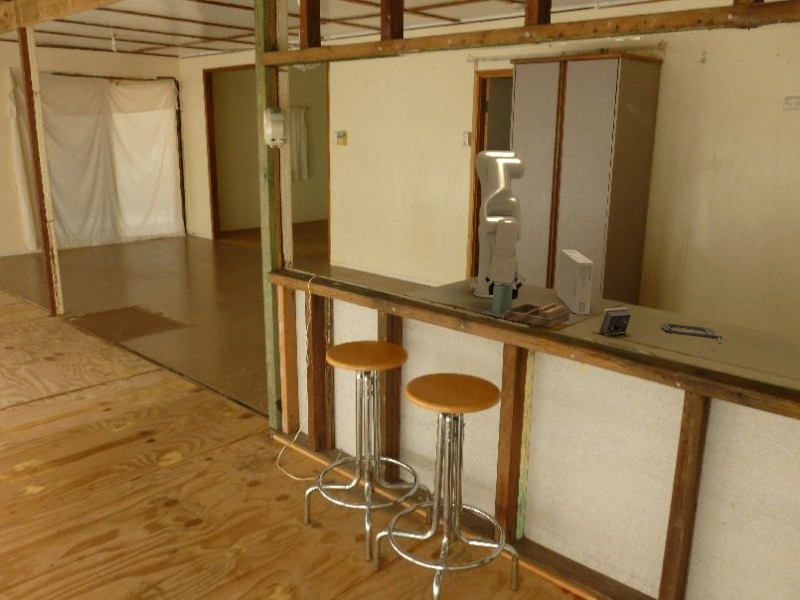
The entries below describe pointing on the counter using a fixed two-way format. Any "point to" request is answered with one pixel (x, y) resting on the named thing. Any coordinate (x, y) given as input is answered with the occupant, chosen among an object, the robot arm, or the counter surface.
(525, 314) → the brown divided tray
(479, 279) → the robot arm
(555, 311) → the offcuts
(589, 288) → the packaging
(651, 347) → the counter surface
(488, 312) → the mat
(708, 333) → the c clamp
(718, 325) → the counter surface
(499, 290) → the teal square block
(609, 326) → the electrical switch
